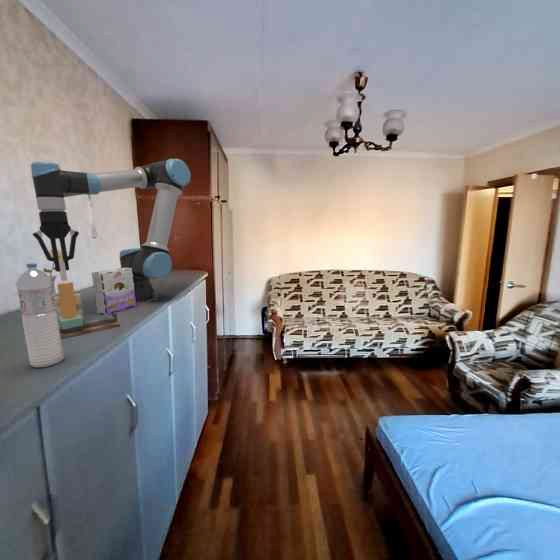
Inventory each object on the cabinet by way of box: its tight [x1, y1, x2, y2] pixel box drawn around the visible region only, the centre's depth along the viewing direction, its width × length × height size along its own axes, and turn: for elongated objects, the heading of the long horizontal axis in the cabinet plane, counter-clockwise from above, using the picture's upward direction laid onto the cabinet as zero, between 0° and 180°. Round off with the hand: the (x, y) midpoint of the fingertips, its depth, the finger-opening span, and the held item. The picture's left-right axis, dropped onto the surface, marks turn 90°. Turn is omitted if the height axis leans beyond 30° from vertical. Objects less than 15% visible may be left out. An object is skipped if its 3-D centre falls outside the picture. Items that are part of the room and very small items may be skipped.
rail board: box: [59, 312, 121, 340], centre depth 99 cm, size 18×7×4 cm, turn 132°
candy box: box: [91, 267, 137, 316], centre depth 122 cm, size 14×6×16 cm, turn 154°
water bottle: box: [15, 262, 65, 369], centre depth 74 cm, size 7×7×25 cm
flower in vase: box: [42, 248, 63, 294], centre depth 125 cm, size 13×11×25 cm
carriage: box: [57, 281, 83, 330], centre depth 95 cm, size 5×7×14 cm
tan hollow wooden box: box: [54, 290, 85, 327], centre depth 108 cm, size 8×8×10 cm
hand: (64, 280), depth 106 cm, fingers closed
